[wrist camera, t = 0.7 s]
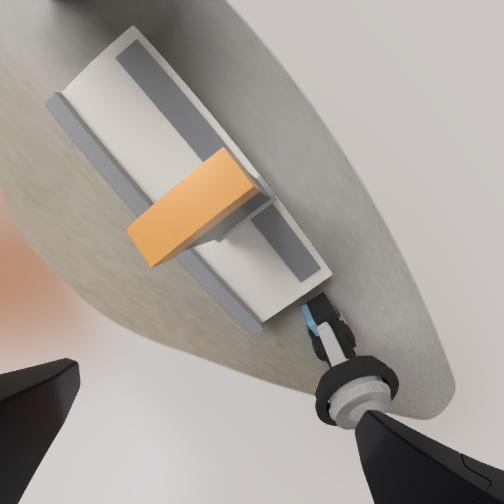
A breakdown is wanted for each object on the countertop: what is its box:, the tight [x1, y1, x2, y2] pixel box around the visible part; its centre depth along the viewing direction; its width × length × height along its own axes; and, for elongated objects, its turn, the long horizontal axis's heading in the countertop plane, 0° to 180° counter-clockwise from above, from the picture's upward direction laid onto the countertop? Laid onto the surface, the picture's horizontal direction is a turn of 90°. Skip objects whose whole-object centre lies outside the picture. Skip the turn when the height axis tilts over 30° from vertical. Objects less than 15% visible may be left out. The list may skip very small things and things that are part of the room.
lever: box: [126, 147, 277, 267], centre depth 14 cm, size 2×4×10 cm, turn 126°
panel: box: [45, 25, 333, 337], centre depth 19 cm, size 20×7×3 cm, turn 37°
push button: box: [301, 292, 399, 430], centre depth 21 cm, size 7×5×10 cm
